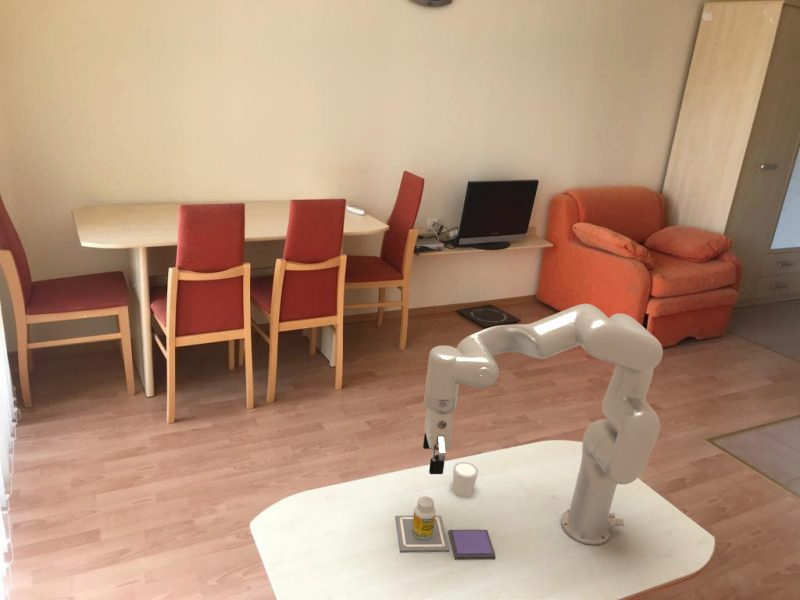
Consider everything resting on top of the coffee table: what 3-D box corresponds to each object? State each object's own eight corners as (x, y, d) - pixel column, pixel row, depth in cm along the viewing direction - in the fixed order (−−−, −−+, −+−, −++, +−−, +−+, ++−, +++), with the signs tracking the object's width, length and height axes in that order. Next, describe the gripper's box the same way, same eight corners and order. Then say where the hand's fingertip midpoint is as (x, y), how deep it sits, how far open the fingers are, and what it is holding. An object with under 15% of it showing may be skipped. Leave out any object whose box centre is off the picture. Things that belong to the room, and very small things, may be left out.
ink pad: (486, 532, 161) (487, 528, 160) (495, 559, 153) (495, 555, 152) (448, 532, 160) (448, 528, 159) (454, 559, 151) (455, 555, 151)
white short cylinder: (458, 500, 171) (462, 479, 169) (445, 485, 177) (448, 464, 174) (479, 494, 174) (483, 473, 172) (466, 479, 180) (469, 459, 177)
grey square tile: (440, 517, 165) (441, 514, 164) (448, 551, 154) (449, 548, 153) (395, 517, 163) (395, 514, 163) (400, 552, 152) (400, 549, 152)
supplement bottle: (424, 522, 161) (428, 491, 158) (437, 535, 157) (441, 504, 154) (407, 529, 159) (411, 498, 155) (419, 542, 155) (423, 511, 151)
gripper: (464, 419, 136) (454, 484, 143) (449, 379, 152) (441, 439, 159) (430, 419, 135) (422, 484, 142) (419, 379, 151) (412, 439, 158)
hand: (432, 460), depth 150 cm, fingers open, 9 cm apart
